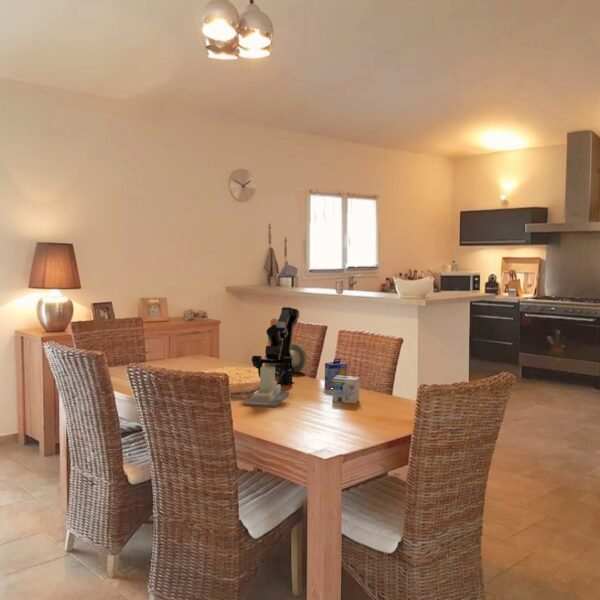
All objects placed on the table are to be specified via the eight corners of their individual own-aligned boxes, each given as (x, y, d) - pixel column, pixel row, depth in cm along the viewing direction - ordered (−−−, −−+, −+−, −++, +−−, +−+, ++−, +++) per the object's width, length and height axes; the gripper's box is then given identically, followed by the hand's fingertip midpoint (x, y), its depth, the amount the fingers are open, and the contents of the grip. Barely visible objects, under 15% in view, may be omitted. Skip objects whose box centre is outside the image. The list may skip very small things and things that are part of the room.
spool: (283, 377, 331) (284, 348, 329) (265, 372, 341) (265, 345, 340) (306, 373, 342) (306, 345, 341) (287, 369, 353) (287, 342, 352)
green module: (263, 394, 284) (263, 366, 283) (274, 395, 283) (275, 366, 282) (260, 397, 279) (260, 368, 278) (272, 397, 278) (272, 368, 277)
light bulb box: (331, 401, 279) (332, 377, 278) (336, 398, 285) (337, 374, 284) (355, 404, 275) (355, 379, 274) (359, 400, 281) (360, 376, 280)
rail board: (259, 392, 295) (259, 381, 295) (289, 393, 293) (289, 382, 292) (244, 405, 270) (244, 393, 269) (276, 407, 267) (276, 395, 267)
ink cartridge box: (328, 389, 302) (329, 359, 301) (323, 387, 307) (324, 358, 306) (347, 388, 306) (347, 358, 305) (341, 385, 311) (342, 356, 310)
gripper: (252, 338, 289) (245, 366, 279) (292, 339, 285) (287, 368, 276) (257, 352, 297) (250, 380, 288) (295, 353, 294) (290, 382, 284)
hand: (269, 377), depth 283 cm, fingers open, 9 cm apart
